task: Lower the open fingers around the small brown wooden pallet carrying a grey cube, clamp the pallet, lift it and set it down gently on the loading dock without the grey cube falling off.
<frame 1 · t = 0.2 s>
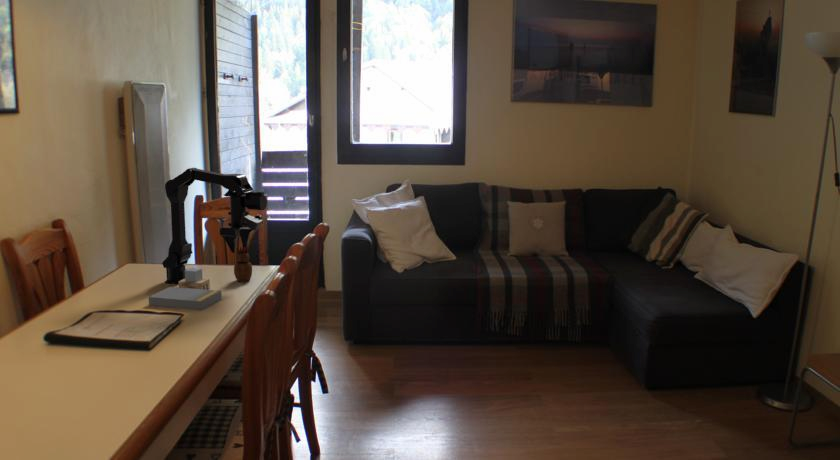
hand: (239, 250, 254), 14 cm above the table, fingers open, 9 cm apart
dock: (186, 302, 237), on the table
wooden figurine: (243, 281, 265), on the table
grey cube: (193, 280, 251), point 4 cm above the table, touching pallet
pallet: (194, 290, 251), on the table, touching grey cube
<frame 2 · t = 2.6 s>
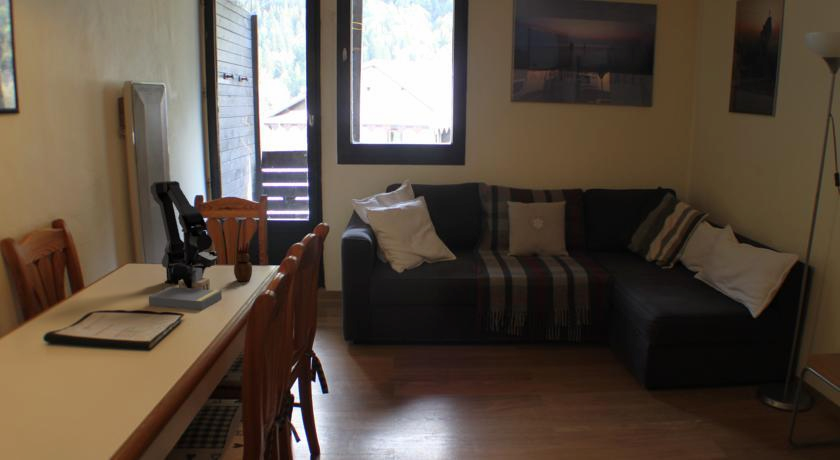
hand: (194, 286, 251), 1 cm above the table, fingers closed on pallet, 6 cm apart
pallet: (194, 290, 251), on the table, touching grey cube, gripper
everything else where it was.
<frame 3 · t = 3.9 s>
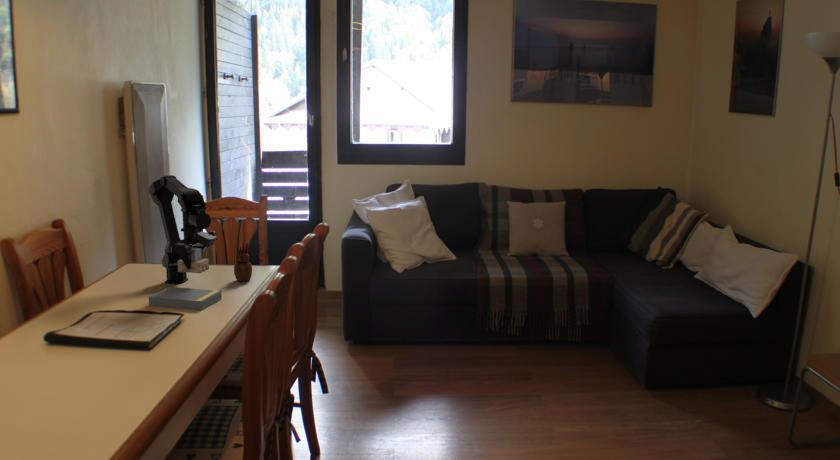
hand: (193, 267, 250), 9 cm above the table, fingers closed on pallet, 6 cm apart
grey cube: (193, 259, 249), point 11 cm above the table, touching pallet
pallet: (193, 270, 250), point 7 cm above the table, touching grey cube, gripper
everything else where it was.
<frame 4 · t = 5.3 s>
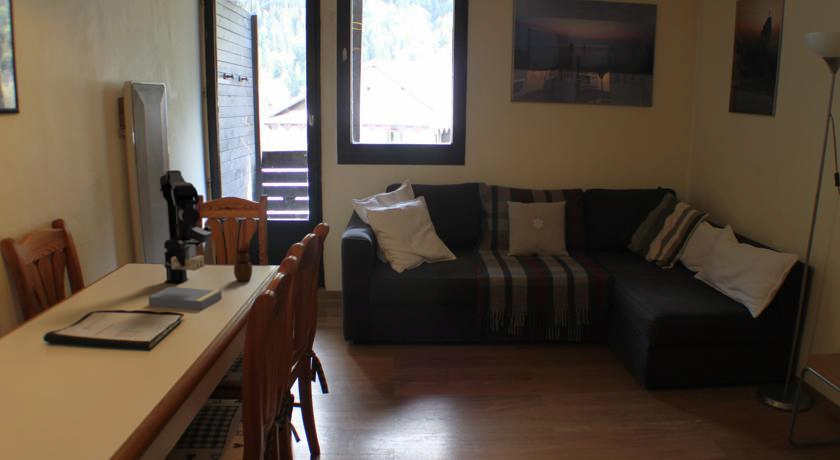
hand: (187, 264, 239), 12 cm above the table, fingers closed on pallet, 6 cm apart
grey cube: (187, 256, 239), point 15 cm above the table, touching pallet
pallet: (187, 267, 240), point 11 cm above the table, touching grey cube, gripper
everything else where it was.
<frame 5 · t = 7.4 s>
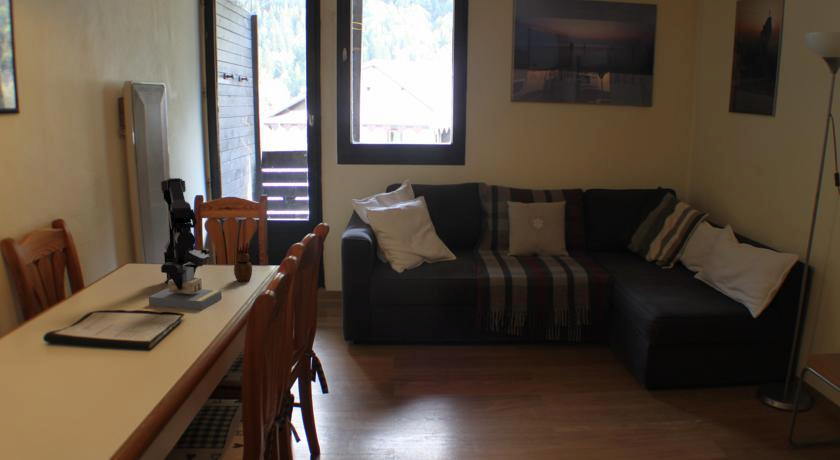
hand: (185, 287, 236), 5 cm above the table, fingers closed on pallet, 6 cm apart
grey cube: (184, 279, 235), point 8 cm above the table, touching pallet
pallet: (185, 290, 236), point 4 cm above the table, touching grey cube, gripper
everything else where it was.
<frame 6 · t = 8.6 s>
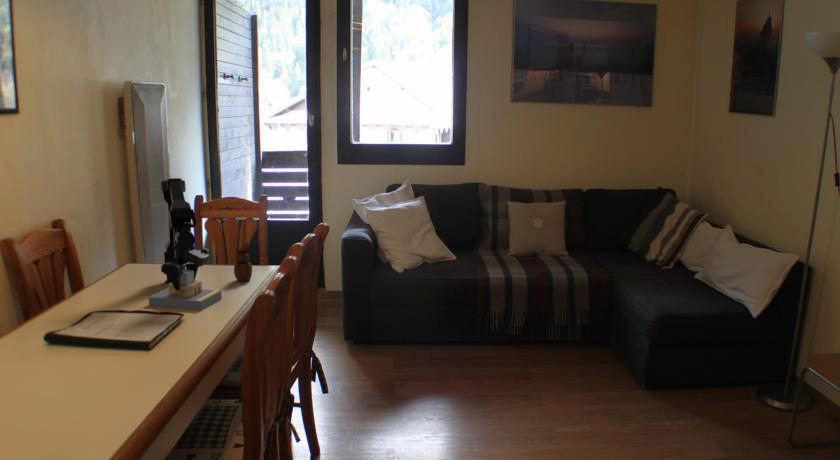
hand: (185, 286, 236), 5 cm above the table, fingers open, 9 cm apart
grey cube: (185, 282, 236), point 7 cm above the table, touching pallet
pallet: (185, 293, 236), point 3 cm above the table, touching grey cube, dock
everything else where it was.
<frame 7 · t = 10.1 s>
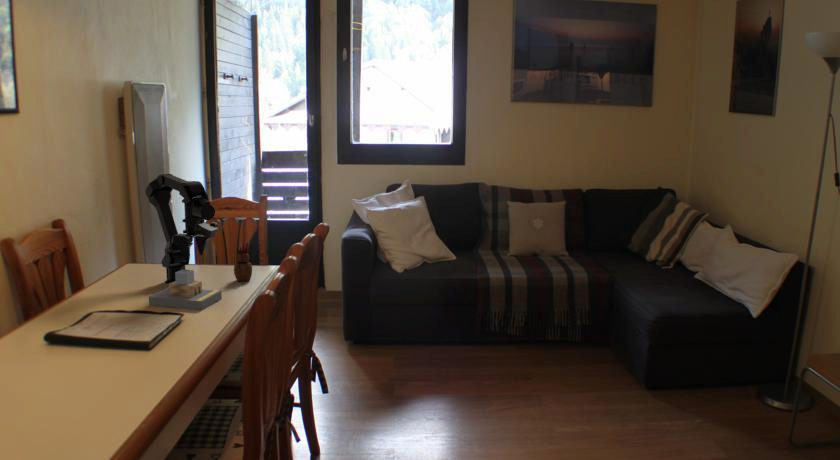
hand: (194, 257, 251), 12 cm above the table, fingers open, 9 cm apart
nothing on the table moved.
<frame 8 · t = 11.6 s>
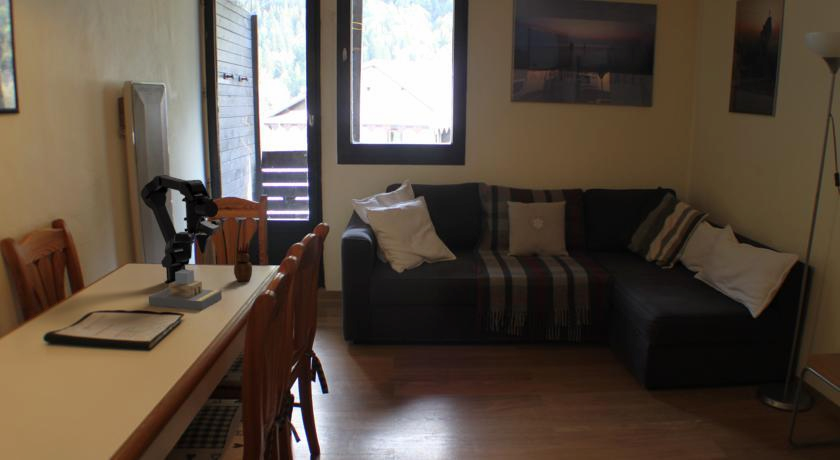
hand: (196, 255, 253), 12 cm above the table, fingers open, 9 cm apart
nothing on the table moved.
at the end: pallet inside the target area on the dock (0.1 cm from its centre), point 3.0 cm above the dock's base; grey cube 0.1 cm off-centre on the pallet, point 4.0 cm above the pallet's base; the gripper is holding nothing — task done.
